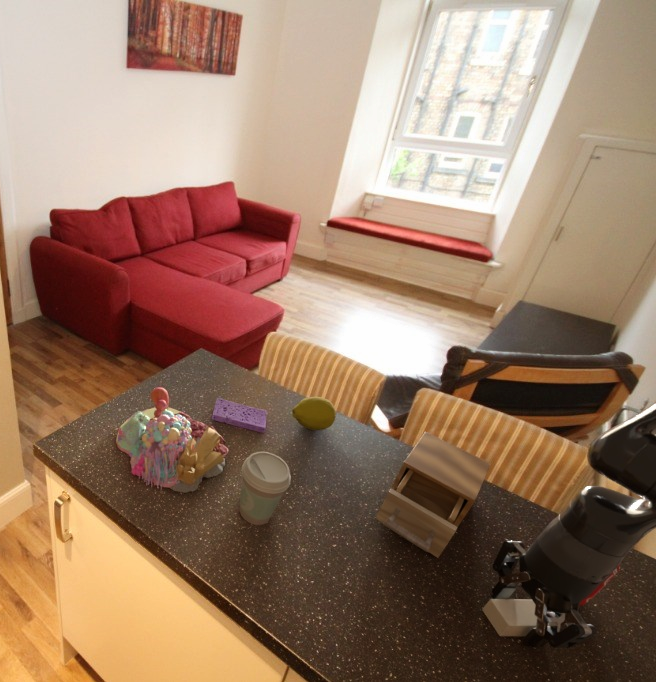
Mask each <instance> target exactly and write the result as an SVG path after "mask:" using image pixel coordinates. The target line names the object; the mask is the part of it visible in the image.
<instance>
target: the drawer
mask: <svg viewBox="0 0 656 682" xmlns="http://www.w3.org/2000/svg"><path fill="white" fill-rule="evenodd" d="M464 500H465V498H463V497H461V496H459V495H457V494H455V493H454V492H452V491H450V490H448V489H446V488H444V487H442V486H441V485H439V484H437V483H435V482H433V481H431V480H430V479H428V478H426V477H424V476H422V475H420V474H418V473H417V472H415V471H413V470H411V469H409V471H408V472H407V474H406V475H405V477H404V478H403V480H402V481H401V483H400V484H399V486H398V487H397V489H396V491H395V490H393V489H391V488H390V489H389V490H388V493H387V494H386V496H385V498H384V500H383V502H382V504H381V506H380V508H379V510H378V511H377V514H376V516H375V520H377V521H378V522H380V523H382V524H383V525H384V527H386V528H388V529H389V530H391V531H392V532H394V533H395V534H397V535H399V536H400V537H401V538H403V539H405V540H406V541H408V542H410V543H411V544H413V545H415V546H416V547H418V548H419V549H420V550H422V551H424V552H425V553H429V554H431V555H433V556H434V557H435V558H437V559H439V558H440V557H441V555H442V553H443V552H444V550H445V549H446V547H447V545H448V544H449V542H451V539H452V538H453V537H454V535H455V533H456V532H457V529H458V527H459V526H458V527H457V526H455V525H453V523H454V521H455V519H456V517H457V515H458V513H459V510H460V508H461V506H462V504H463V502H464Z"/></svg>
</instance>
